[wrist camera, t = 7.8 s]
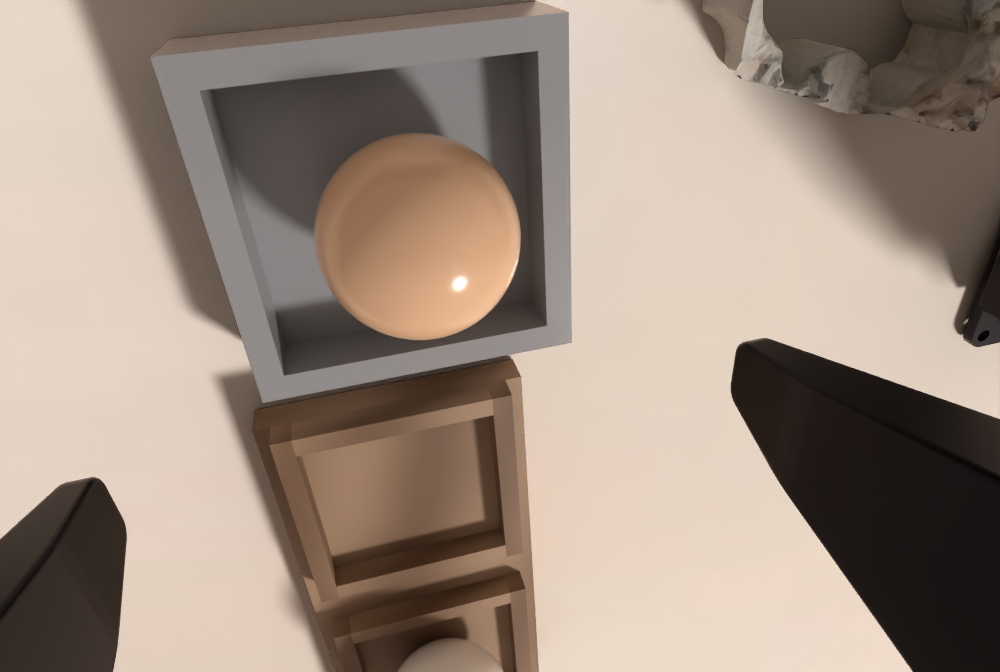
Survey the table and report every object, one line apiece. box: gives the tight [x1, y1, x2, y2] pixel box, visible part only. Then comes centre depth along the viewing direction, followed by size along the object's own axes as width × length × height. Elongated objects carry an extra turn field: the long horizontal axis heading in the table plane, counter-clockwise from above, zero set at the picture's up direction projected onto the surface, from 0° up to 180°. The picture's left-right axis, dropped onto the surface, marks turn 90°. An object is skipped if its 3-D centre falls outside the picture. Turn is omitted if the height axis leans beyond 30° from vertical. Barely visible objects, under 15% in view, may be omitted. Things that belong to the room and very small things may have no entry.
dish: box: [150, 1, 572, 403], centre depth 17 cm, size 8×8×2 cm
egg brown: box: [314, 133, 521, 340], centre depth 15 cm, size 5×5×5 cm
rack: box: [253, 359, 539, 672], centre depth 24 cm, size 8×16×2 cm, turn 4°
